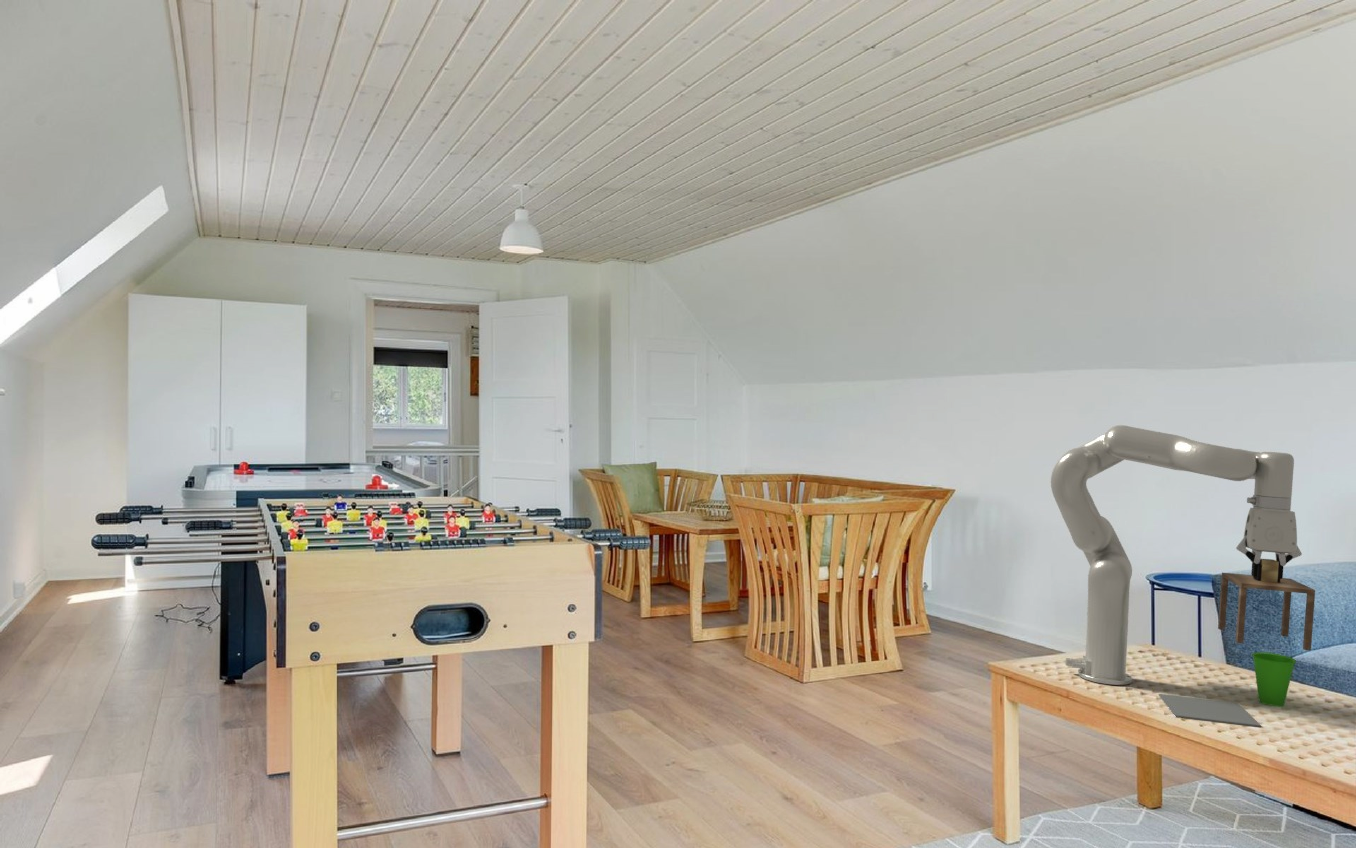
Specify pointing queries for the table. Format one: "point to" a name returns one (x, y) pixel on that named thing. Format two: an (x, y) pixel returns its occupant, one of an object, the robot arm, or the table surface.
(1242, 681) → the table surface
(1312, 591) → the cover
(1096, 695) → the table surface
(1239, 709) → the mat
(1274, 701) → the cup
